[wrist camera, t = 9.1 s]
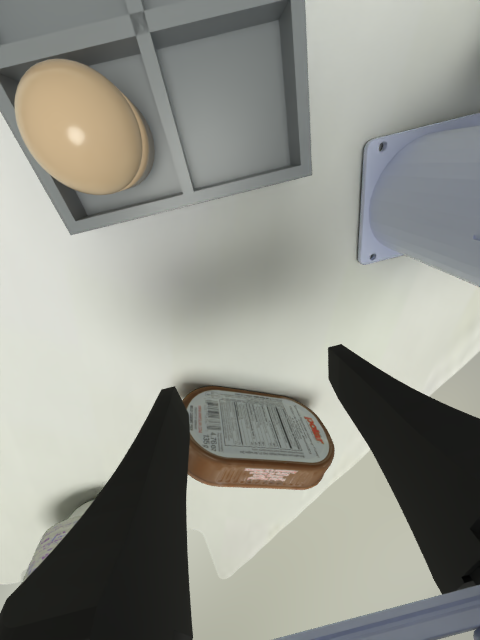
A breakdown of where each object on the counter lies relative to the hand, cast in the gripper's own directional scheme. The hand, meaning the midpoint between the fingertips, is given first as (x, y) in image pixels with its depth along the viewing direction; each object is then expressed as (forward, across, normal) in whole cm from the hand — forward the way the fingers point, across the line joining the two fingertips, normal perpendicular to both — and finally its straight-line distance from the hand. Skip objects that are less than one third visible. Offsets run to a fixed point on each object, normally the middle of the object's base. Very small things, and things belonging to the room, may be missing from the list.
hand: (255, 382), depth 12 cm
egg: (+9, +4, -11) cm, 15 cm away
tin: (+10, +1, +12) cm, 16 cm away
